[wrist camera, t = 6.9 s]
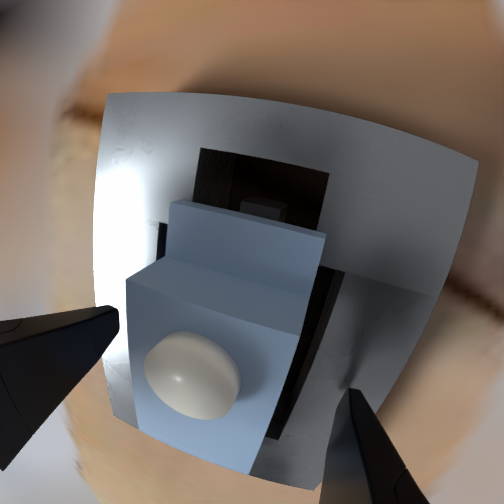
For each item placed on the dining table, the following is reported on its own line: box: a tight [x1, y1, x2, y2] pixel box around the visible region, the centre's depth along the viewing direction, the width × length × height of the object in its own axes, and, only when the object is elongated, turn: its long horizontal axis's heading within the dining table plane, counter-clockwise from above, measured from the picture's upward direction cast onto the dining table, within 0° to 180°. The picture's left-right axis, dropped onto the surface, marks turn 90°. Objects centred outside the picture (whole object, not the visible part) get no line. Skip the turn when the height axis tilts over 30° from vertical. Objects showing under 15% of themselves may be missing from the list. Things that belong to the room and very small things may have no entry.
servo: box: [125, 196, 326, 475], centre depth 9 cm, size 9×4×6 cm, turn 170°
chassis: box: [93, 92, 479, 490], centre depth 10 cm, size 15×11×3 cm
